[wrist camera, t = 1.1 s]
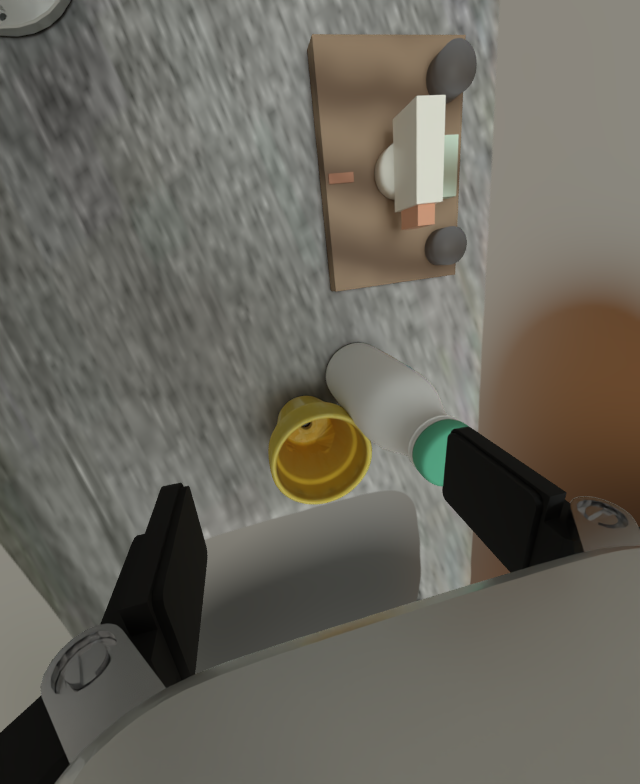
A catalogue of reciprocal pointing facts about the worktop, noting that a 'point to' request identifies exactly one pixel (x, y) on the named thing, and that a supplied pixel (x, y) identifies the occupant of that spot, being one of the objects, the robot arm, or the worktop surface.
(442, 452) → the milk bottle
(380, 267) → the brown lever switch panel
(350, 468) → the plant pot
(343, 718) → the robot arm
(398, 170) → the wing knob
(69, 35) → the worktop surface
